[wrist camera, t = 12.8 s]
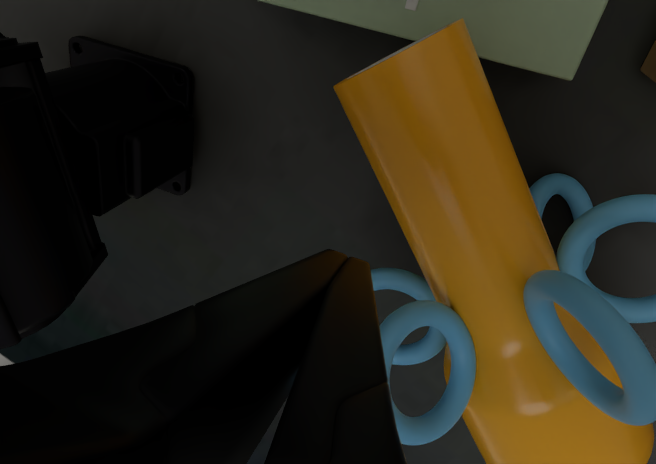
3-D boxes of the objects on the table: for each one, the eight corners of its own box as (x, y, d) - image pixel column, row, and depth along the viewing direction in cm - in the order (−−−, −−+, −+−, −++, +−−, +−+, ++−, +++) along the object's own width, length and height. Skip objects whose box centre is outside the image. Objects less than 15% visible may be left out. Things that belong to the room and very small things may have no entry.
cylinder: (710, 317, 19) (600, -58, 15) (877, 597, 11) (727, -111, 6) (429, 366, 25) (294, 103, 21) (386, 573, 16) (139, 191, 12)
